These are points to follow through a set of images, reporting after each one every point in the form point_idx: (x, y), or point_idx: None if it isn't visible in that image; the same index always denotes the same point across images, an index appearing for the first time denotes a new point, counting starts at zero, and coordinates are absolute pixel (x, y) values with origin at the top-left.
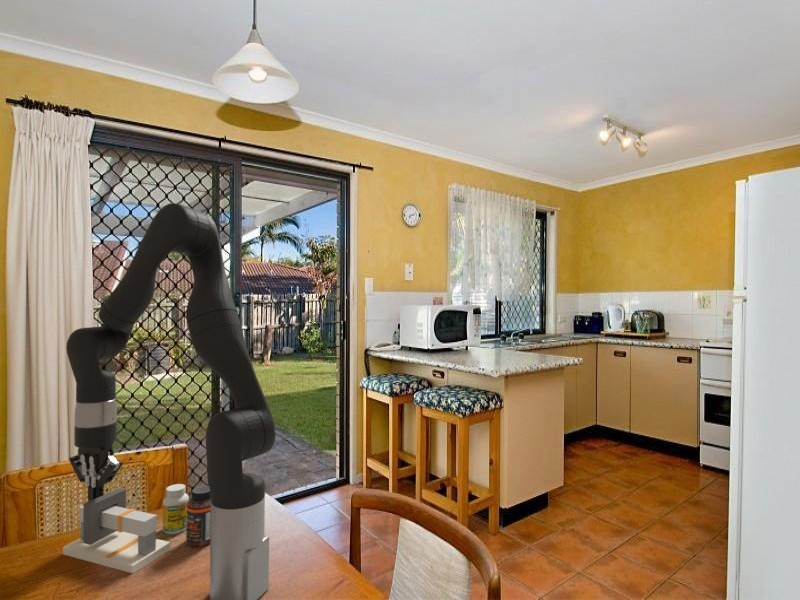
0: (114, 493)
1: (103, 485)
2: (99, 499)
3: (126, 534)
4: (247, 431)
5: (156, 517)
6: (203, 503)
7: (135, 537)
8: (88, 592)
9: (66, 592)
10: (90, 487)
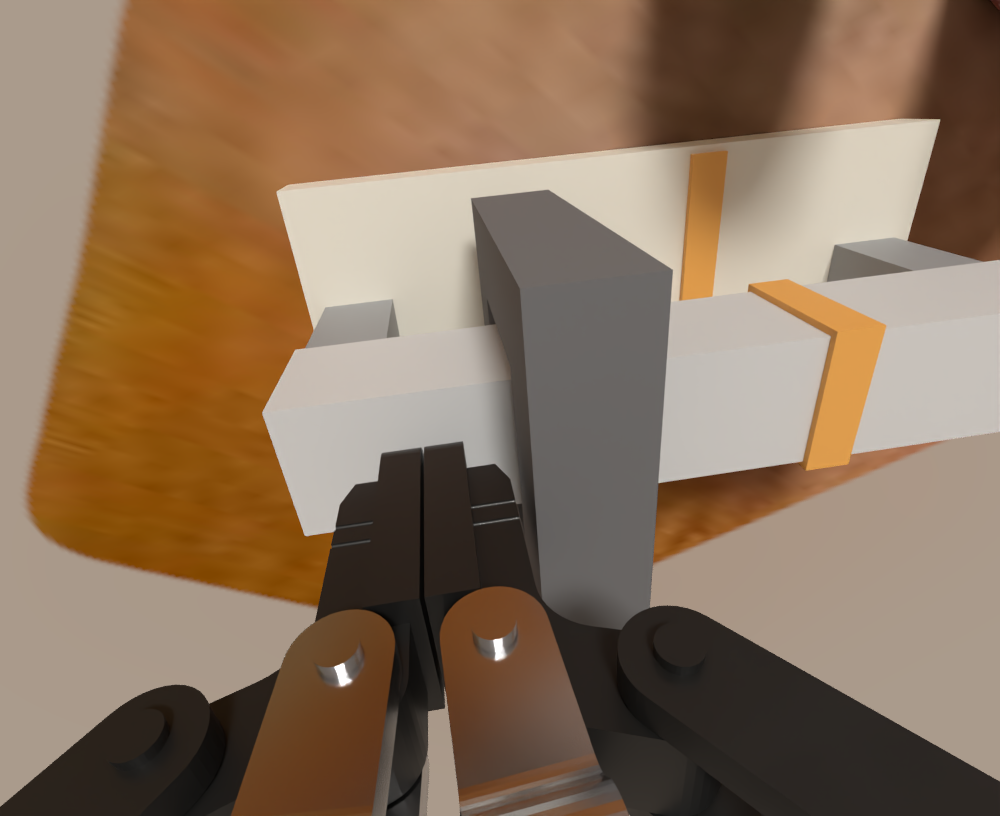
0: (621, 423)
1: (545, 605)
2: (606, 582)
3: (559, 192)
4: None
5: None
6: None
7: (657, 191)
8: (750, 518)
9: (670, 552)
10: (441, 707)
